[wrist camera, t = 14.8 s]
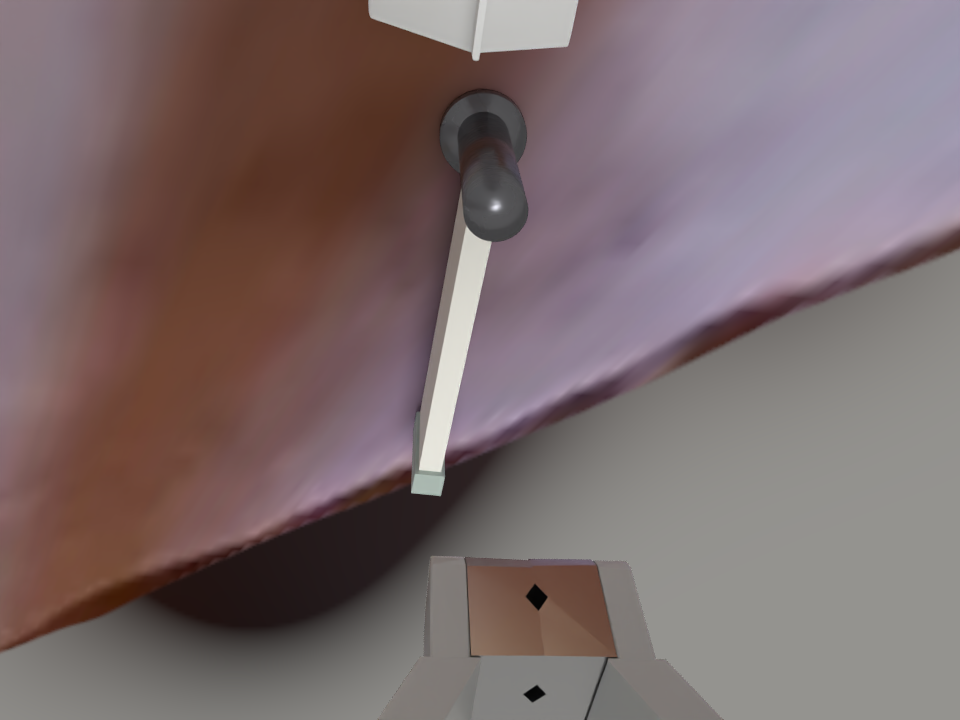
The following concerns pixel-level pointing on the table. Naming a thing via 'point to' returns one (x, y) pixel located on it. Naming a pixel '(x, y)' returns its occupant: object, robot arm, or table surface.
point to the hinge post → (487, 161)
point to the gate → (448, 355)
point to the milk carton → (482, 22)
